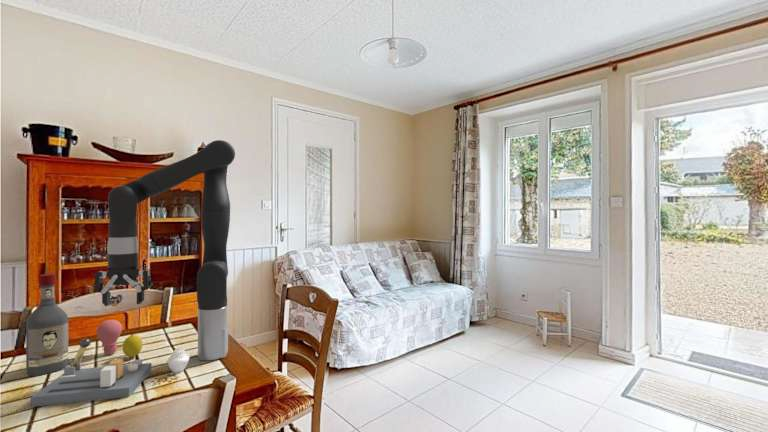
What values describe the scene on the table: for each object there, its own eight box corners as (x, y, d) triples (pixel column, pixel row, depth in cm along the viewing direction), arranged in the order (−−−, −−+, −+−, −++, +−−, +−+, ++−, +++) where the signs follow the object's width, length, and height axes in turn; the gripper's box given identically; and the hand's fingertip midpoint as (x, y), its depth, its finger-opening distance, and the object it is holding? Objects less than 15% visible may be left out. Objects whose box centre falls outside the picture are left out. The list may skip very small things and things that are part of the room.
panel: (151, 370, 112) (151, 356, 112) (129, 396, 96) (129, 380, 96) (68, 378, 106) (68, 363, 106) (30, 406, 91) (30, 389, 91)
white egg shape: (168, 368, 114) (168, 346, 114) (190, 364, 116) (190, 343, 116) (165, 376, 108) (165, 353, 108) (188, 372, 111) (188, 350, 111)
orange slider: (123, 374, 103) (123, 358, 103) (118, 378, 100) (118, 362, 100) (113, 374, 103) (113, 359, 102) (108, 379, 100) (108, 363, 100)
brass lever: (81, 367, 106) (93, 338, 107) (76, 371, 104) (89, 341, 104) (72, 365, 106) (84, 336, 106) (66, 369, 103) (79, 339, 104)
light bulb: (91, 356, 122) (91, 321, 122) (114, 348, 128) (114, 316, 128) (104, 359, 119) (104, 324, 119) (126, 352, 126) (126, 318, 126)
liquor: (25, 369, 111) (25, 274, 111) (64, 360, 118) (64, 271, 118) (28, 378, 105) (28, 278, 105) (69, 368, 112) (69, 274, 112)
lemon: (132, 361, 118) (132, 337, 118) (118, 360, 119) (118, 336, 119) (146, 355, 123) (146, 332, 123) (133, 353, 125) (133, 331, 124)
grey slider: (115, 381, 99) (115, 365, 99) (110, 386, 96) (110, 369, 96) (105, 382, 98) (105, 366, 98) (100, 387, 95) (100, 370, 95)
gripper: (154, 249, 113) (154, 300, 113) (102, 250, 109) (102, 302, 110) (144, 252, 106) (144, 306, 106) (88, 253, 102) (89, 309, 102)
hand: (123, 304), depth 108 cm, fingers open, 8 cm apart
